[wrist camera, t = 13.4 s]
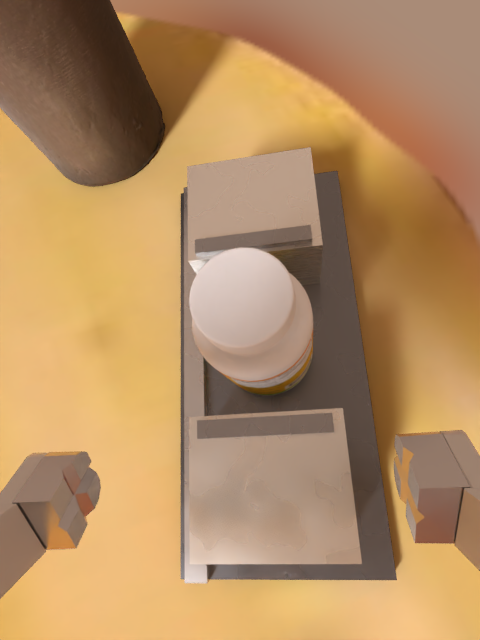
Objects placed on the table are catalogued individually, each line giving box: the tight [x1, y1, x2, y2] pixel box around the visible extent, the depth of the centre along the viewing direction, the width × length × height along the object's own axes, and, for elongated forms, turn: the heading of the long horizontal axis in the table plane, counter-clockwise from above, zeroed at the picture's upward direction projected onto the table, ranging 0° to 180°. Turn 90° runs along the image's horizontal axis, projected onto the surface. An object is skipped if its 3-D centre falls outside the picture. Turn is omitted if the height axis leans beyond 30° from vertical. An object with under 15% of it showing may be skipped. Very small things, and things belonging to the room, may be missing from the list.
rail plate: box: [181, 147, 397, 583], centre depth 21 cm, size 24×11×6 cm, turn 3°
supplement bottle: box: [189, 247, 313, 396], centre depth 19 cm, size 5×5×10 cm
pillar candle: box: [0, 0, 165, 186], centre depth 25 cm, size 10×10×15 cm
